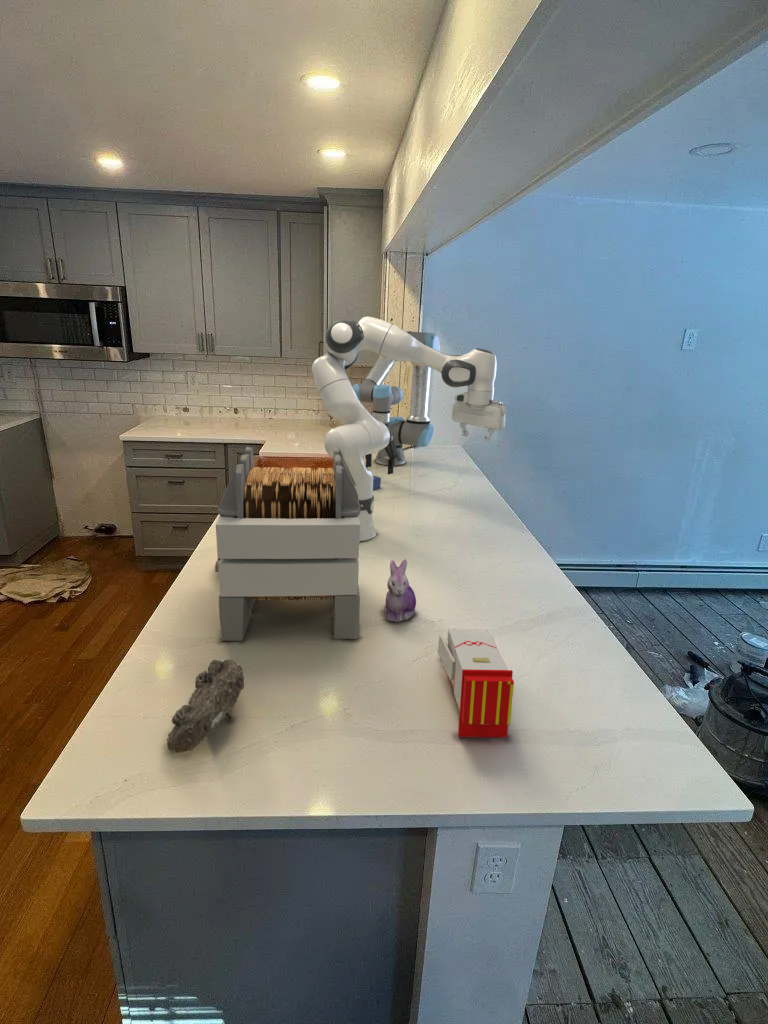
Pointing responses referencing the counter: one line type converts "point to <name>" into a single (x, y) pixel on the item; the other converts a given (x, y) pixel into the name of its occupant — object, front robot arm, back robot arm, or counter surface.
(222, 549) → the transformer
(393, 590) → the figurine
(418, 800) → the counter surface
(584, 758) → the counter surface
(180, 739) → the fossil
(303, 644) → the counter surface
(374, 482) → the block
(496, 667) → the toy
